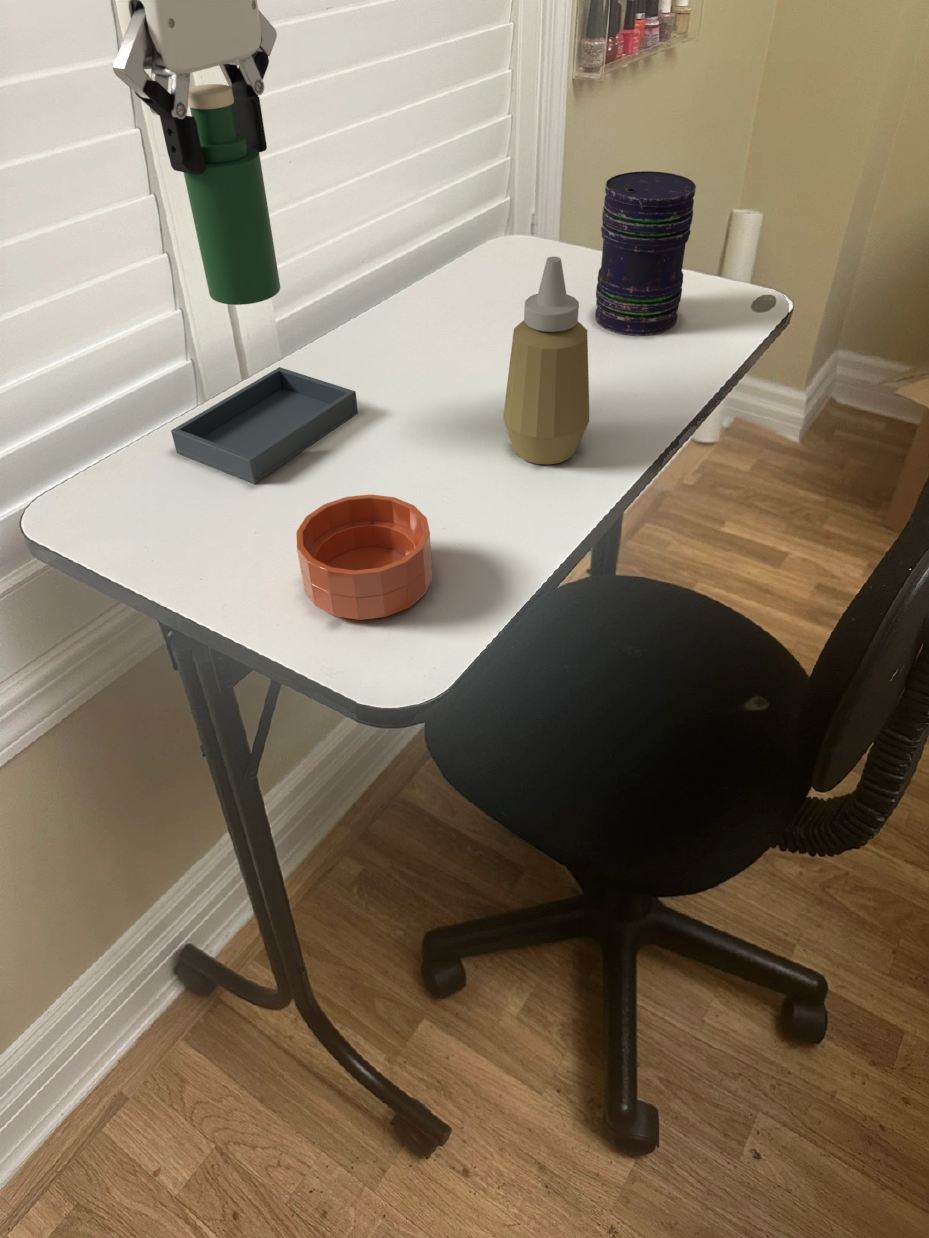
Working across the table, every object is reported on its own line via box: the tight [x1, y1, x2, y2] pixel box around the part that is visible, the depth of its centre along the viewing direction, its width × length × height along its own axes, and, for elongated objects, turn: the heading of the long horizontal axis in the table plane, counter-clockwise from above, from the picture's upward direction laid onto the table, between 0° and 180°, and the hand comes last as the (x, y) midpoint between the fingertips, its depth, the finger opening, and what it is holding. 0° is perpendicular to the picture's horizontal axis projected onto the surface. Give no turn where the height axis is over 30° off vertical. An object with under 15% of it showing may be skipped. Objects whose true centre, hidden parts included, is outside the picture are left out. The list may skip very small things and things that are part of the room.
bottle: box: [183, 83, 281, 306], centre depth 75 cm, size 6×6×16 cm
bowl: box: [296, 494, 433, 621], centre depth 70 cm, size 10×10×5 cm
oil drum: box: [594, 170, 697, 337], centre depth 103 cm, size 10×10×15 cm
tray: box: [170, 366, 359, 485], centre depth 89 cm, size 15×10×2 cm
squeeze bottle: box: [502, 256, 590, 465], centre depth 80 cm, size 8×8×18 cm
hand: (220, 158), depth 73 cm, fingers closed on bottle, 6 cm apart
